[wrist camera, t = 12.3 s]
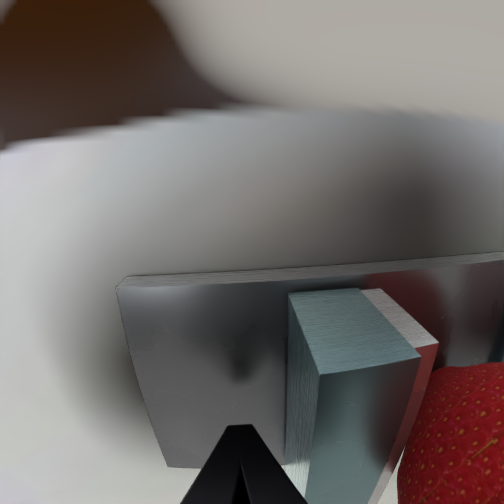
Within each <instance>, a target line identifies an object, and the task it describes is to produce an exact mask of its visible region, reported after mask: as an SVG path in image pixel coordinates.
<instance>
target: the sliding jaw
mask: <svg viewBox="0 0 504 504" xmlns="http://www.w3.org/2000/svg"><path fill="white" fill-rule="evenodd" d="M438 345H439V342H438V341H437V340H436V339H435V338H434V337H433V336H432V335H431V334H429V333H428V332H427V331H426V330H425V329H424V328H423V327H422V326H421V325H420V324H419V323H418V322H417V321H416V320H415V319H413V318H412V317H411V316H410V315H409V314H408V313H407V312H406V311H405V310H404V309H403V308H402V307H400V306H399V305H398V304H397V303H396V302H395V301H394V300H393V299H392V298H390V297H389V296H388V295H387V294H386V293H385V292H384V291H383V290H382V289H380V288H376V289H366V290H359V289H358V288H357V287H356V288H346V289H334V290H322V291H310V292H297V293H288V373H287V419H286V449H285V472H286V474H287V475H288V477H289V478H290V480H291V481H292V482H293V484H294V485H295V486H296V488H297V489H298V491H299V492H300V493H301V495H302V496H303V497H304V499H305V500H306V501H307V503H308V504H377V503H378V501H379V499H380V497H381V495H382V493H383V492H384V490H385V488H386V486H387V484H388V482H389V480H390V478H391V476H392V474H393V471H394V469H395V467H396V465H397V463H398V461H399V459H400V456H401V454H402V452H403V449H404V447H405V445H406V442H407V440H408V437H409V435H410V432H411V430H412V427H413V425H414V422H415V419H416V417H417V414H418V411H419V408H420V406H421V403H422V400H423V397H424V394H425V391H426V387H427V384H428V381H429V378H430V374H431V371H432V367H433V364H434V360H435V356H436V353H437V349H438Z"/></svg>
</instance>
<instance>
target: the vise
mask: <svg viewBox="0 0 504 504" xmlns="http://www.w3.org/2000/svg"><path fill="white" fill-rule="evenodd" d="M356 287H357V288H358V289H359V290H366V289H376V288H380V289H382V290H383V291H384V292H385V293H386V294H387V295H388V296H389V297H390V298H392V299H393V300H394V301H395V302H396V303H397V304H398V305H399V306H400V307H402V308H403V309H404V310H405V311H406V312H407V313H408V314H409V315H410V316H411V317H412V318H413V319H415V320H416V321H417V322H418V323H419V324H420V325H421V326H422V327H423V328H424V329H425V330H426V331H427V332H428V333H429V334H431V335H432V336H433V337H434V338H435V339H436V340H437V341H438V342H439V345H438V349H437V353H436V356H435V360H434V364H433V367H432V371H431V373H433V372H434V371H435V370H437V369H439V368H442V367H446V366H456V367H465V366H471V365H478V364H484V363H498V362H504V251H500V252H490V253H479V254H468V255H457V256H446V257H434V258H422V259H410V260H397V261H384V262H371V263H357V264H343V265H329V266H314V267H298V268H282V269H266V270H249V271H231V272H212V273H192V274H171V275H149V276H127V277H126V278H125V279H124V280H123V281H122V282H121V283H120V284H119V285H118V286H117V287H116V293H117V299H118V303H119V308H120V313H121V318H122V322H123V326H124V331H125V335H126V339H127V343H128V347H129V351H130V355H131V359H132V362H133V366H134V370H135V373H136V377H137V380H138V383H139V387H140V390H141V393H142V396H143V400H144V403H145V406H146V409H147V412H148V415H149V418H150V421H151V424H152V427H153V429H154V432H155V435H156V438H157V440H158V443H159V446H160V448H161V451H162V453H163V456H164V458H165V461H166V463H167V466H168V467H175V468H199V469H202V467H203V466H204V464H205V462H206V461H207V459H208V457H209V456H210V454H211V452H212V451H213V449H214V447H215V446H216V444H217V442H218V440H219V439H220V437H221V435H222V434H223V432H224V430H225V428H226V427H227V426H228V425H240V424H252V425H253V426H254V427H255V429H256V430H257V432H258V433H259V435H260V436H261V438H262V439H263V441H264V442H265V444H266V445H267V447H268V448H269V450H270V451H271V453H272V454H273V456H274V457H275V458H276V460H277V461H278V463H279V464H280V465H285V449H286V419H287V373H288V293H297V292H310V291H322V290H334V289H346V288H356Z"/></svg>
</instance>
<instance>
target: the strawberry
mask: <svg viewBox="0 0 504 504" xmlns="http://www.w3.org/2000/svg"><path fill="white" fill-rule="evenodd" d="M397 491H398V504H504V362H498V363H484V364H478V365H471V366H465V367H456V366H446V367H442V368H439V369H437V370H435V371H434V372H433V373H431V374H430V378H429V381H428V384H427V387H426V391H425V394H424V397H423V400H422V403H421V406H420V408H419V411H418V414H417V417H416V419H415V422H414V425H413V427H412V430H411V432H410V435H409V437H408V440H407V442H406V446H405V449H404V453H403V456H402V459H401V463H400V466H399V469H398V474H397Z"/></svg>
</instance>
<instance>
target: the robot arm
mask: <svg viewBox="0 0 504 504" xmlns="http://www.w3.org/2000/svg"><path fill="white" fill-rule="evenodd" d="M180 504H308V503H307V501H306V500H305V499H304V497H303V496H302V495H301V493H300V492H299V491H298V489H297V488H296V486H295V485H294V484H293V482H292V481H291V480H290V478H289V477H288V475H287V474H286V473H285V471H284V470H283V468H282V467H281V466H280V464H279V463H278V461H277V460H276V458H275V457H274V456H273V454H272V453H271V451H270V450H269V448H268V447H267V445H266V444H265V442H264V441H263V439H262V438H261V436H260V435H259V433H258V432H257V430H256V429H255V427H254V426H253V425H252V424H240V425H228V426H227V427H226V428H225V430H224V432H223V434H222V435H221V437H220V439H219V440H218V442H217V444H216V446H215V447H214V449H213V451H212V452H211V454H210V456H209V457H208V459H207V461H206V462H205V464H204V466H203V467H202V469H201V471H200V472H199V474H198V476H197V477H196V479H195V481H194V482H193V484H192V485H191V487H190V489H189V490H188V492H187V493H186V495H185V497H184V498H183V500H182V501H181V503H180Z"/></svg>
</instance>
